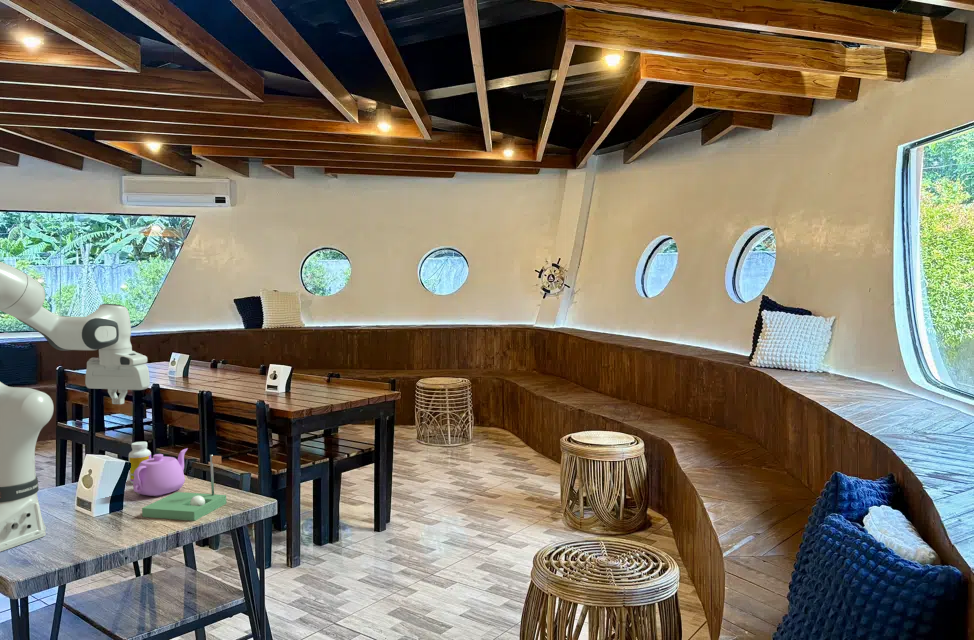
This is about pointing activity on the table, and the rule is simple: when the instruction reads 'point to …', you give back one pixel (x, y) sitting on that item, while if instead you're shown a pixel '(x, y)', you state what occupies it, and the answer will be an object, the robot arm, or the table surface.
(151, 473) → the teapot
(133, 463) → the supplement bottle
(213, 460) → the flag pin
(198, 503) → the ball
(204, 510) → the mat
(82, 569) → the table surface
